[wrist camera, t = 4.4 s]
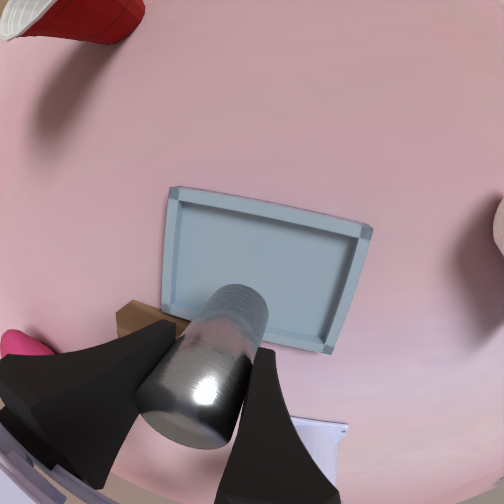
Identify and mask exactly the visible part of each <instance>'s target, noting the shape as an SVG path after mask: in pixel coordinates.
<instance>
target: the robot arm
mask: <svg viewBox="0 0 504 504" xmlns="http://www.w3.org/2000/svg"><path fill="white" fill-rule="evenodd" d="M175 342H176V323H174V322H171V321H168V320H165V319H162V320H159V321H157V322H155V323H152V324H150V325H148V326H146V327H144V328H142V329H139V330H137V331H135V332H132V333H130V334H128V335H126V336H123V337H121V338H118V339H115V340H113V341H110V342H107V343H104V344H101V345H98V346H95V347H91V348H87V349H83V350H79V351H74V352H67V353H61V354H52V355H18V354H7V355H5V356H4V357H3V358H2V359H0V397H1V399H2V401H3V402H4V404H5V406H4V407H3V409H1V410H0V504H64V502H65V501H66V499H67V498H66V496H65V495H63V494H62V493H61V492H59V491H58V490H57V489H56V488H55V487H54V486H53V485H51V484H50V483H49V482H48V481H47V480H46V479H45V478H44V477H43V476H42V475H41V474H40V473H39V472H38V471H37V470H36V469H34V465H33V463H34V464H35V465H36V466H37V467H39V468H40V469H41V470H42V471H43V472H44V473H46V474H47V475H48V476H49V477H50V478H52V479H53V480H54V481H56V482H57V483H58V484H59V485H61V486H62V487H64V488H65V489H66V490H68V491H69V492H70V493H72V494H74V495H75V496H76V497H78V498H79V499H81V500H82V501H84V502H85V503H87V504H119V503H117V502H115V501H113V500H112V499H110V498H108V497H106V496H104V495H103V494H101V493H99V492H98V491H96V490H99V489H103V487H104V485H105V482H106V479H107V477H108V474H109V472H110V470H111V467H112V465H113V463H114V461H115V458H116V456H117V454H118V452H119V450H120V448H121V446H122V444H123V442H124V440H125V438H126V436H127V434H128V432H129V431H130V429H131V427H132V425H133V423H134V422H135V420H136V418H137V417H138V415H139V414H140V412H139V411H138V409H137V406H136V403H135V394H136V392H137V390H138V389H139V387H140V386H141V385H142V383H143V382H144V381H145V380H146V378H147V377H148V376H149V375H150V373H151V372H152V371H153V369H154V368H155V367H156V366H157V364H158V363H159V362H160V361H161V359H162V358H163V357H164V356H165V354H166V353H167V352H168V350H169V349H170V348H171V347H172V345H173V344H174V343H175ZM275 355H276V353H275V351H274V350H271V349H267V348H262V347H258V349H257V351H256V354H255V357H254V362H253V366H252V370H251V374H250V378H249V382H248V387H247V391H246V395H245V398H244V402H243V407H242V412H241V418H240V423H239V428H238V433H237V436H236V439H235V442H234V445H233V448H232V451H231V453H230V456H229V459H228V462H227V465H226V468H225V470H224V473H223V476H222V479H221V481H220V484H219V487H218V490H217V494H216V498H215V501H214V504H345V503H344V501H341V500H340V495H339V491H338V490H337V489H336V470H337V448H336V446H337V445H338V444H339V442H340V441H341V440H342V439H343V437H344V436H345V435H346V433H347V432H348V430H349V429H350V426H349V425H348V424H340V423H331V422H323V421H315V420H309V419H302V418H296V417H291V416H290V415H289V413H288V410H287V407H286V404H285V401H284V398H283V395H282V392H281V388H280V384H279V379H278V375H277V368H276V358H275Z"/></svg>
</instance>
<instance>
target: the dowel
mask: <svg viewBox="0 0 504 504" xmlns="http://www.w3.org/2000/svg"><path fill="white" fill-rule="evenodd" d="M268 317H269V311H268V307H267V304H266V302H265V300H264V299H263V297H262V296H261V295H260V294H259V293H258V292H257V291H255V290H254V289H252V288H250V287H248V286H245V285H242V284H229V285H225V286H222V287H221V288H219V289H218V290H216V291H215V292H214V294H213V295H212V296H211V297H210V299H209V300H208V301H207V302H206V304H205V305H204V306H203V307H202V309H201V310H200V311H199V313H198V314H197V315H196V316H195V318H194V319H193V320H192V321H191V323H190V324H189V325H188V326H187V328H186V329H185V330H184V331H183V333H182V334H181V335H180V337H179V338H178V339H177V340H176V342H175V343H174V344H173V345H172V347H171V348H170V349H169V350H168V352H167V353H166V354H165V356H164V357H163V358H162V359H161V361H160V362H159V363H158V364H157V366H156V367H155V368H154V369H153V371H152V372H151V373H150V375H149V376H148V377H147V378H146V380H145V381H144V382H143V383H142V385H141V386H140V387H139V389H138V390H137V392H136V394H135V403H136V406H137V409H138V411H139V412H140V414H141V416H142V417H143V418H144V420H145V421H146V422H147V423H148V424H149V425H150V426H151V427H152V428H153V429H155V430H156V431H157V432H159V433H160V434H161V435H163V436H165V437H166V438H168V439H170V440H172V441H174V442H176V443H178V444H181V445H184V446H187V447H191V448H196V449H204V450H210V449H217V448H220V447H223V446H225V445H226V444H227V443H229V441H230V440H231V437H232V434H233V431H234V428H235V425H236V422H237V419H238V416H239V413H240V410H241V407H242V404H243V401H244V398H245V395H246V391H247V387H248V382H249V378H250V374H251V370H252V366H253V362H254V357H255V354H256V351H257V349H258V347H260V346H261V342H262V339H263V335H264V332H265V329H266V325H267V322H268Z"/></svg>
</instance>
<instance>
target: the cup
mask: <svg viewBox="0 0 504 504" xmlns="http://www.w3.org/2000/svg"><path fill="white" fill-rule="evenodd" d="M493 237H494V241H495V243H496V245H497V246H498V248H499V250H500V251H501V253H502V254H503V256H504V197H503V199H502V201H501V202H500V204H499V206H498V209H497V211H496V214H495V217H494V222H493Z"/></svg>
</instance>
